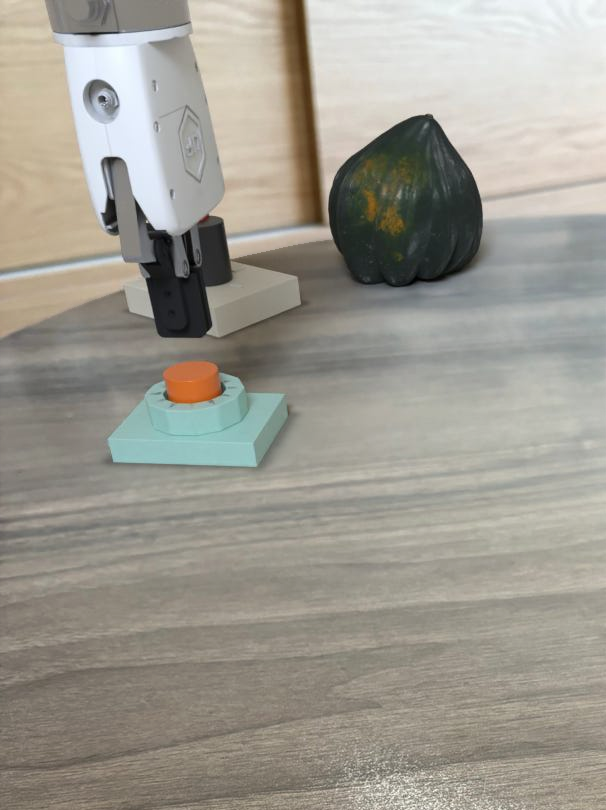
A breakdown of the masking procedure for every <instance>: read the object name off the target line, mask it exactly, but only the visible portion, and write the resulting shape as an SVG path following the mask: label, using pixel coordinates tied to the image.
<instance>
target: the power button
mask: <svg viewBox="0 0 606 810" xmlns="http://www.w3.org/2000/svg"><path fill="white" fill-rule="evenodd" d="M219 373H220V372H219V366H218V365H216V364H215V363H213V362H210V361H206V360H191V361H184V362H183V361H182V362H180V363H176V364H174V365H171V366H169V367H168V368H166V369H165V370H164V371H163V375H162V376H163V381H165V385H166V390H167V394H168V399H169V400H170V401H171V402H174V403H182V404H193V403H199V402H204V401H209V400H212V399H214V398H216V397H218V396H221V394H222V388H221V382H220V377H219Z"/></svg>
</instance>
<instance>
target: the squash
mask: <svg viewBox="0 0 606 810" xmlns="http://www.w3.org/2000/svg"><path fill="white" fill-rule="evenodd" d="M327 200H328V201H327V212H328V213H327V214H328V225H329V229H330V233H331V237H332V240H333V242H334V245H335V247H336V248H337V250H338V252H339V253H340V254H341V255H342V257H343V260H344V262H345V266H346V267H347V269H348V270H349V272H350V273H351V275H353V277H355V278H356V279H357V280H358V281H359V282H361V283H363V284H365V285H379V284H385V283H388V284H390V285H392V286H394V287H402V286H405V285H408V284H409V283H412V281H413V280H414V279H415V278H416V277H417V278H419V279H421V280H430V279H435V278H437V277H439V276H440V275H445V274H449V273H455V272H458V271H460V270H462V269H464V268H465V267H466V266H468V265H469V264H470V263H471V261H472V260H474V258H475V256H476V255H477V253H478V251H479V249H480V245H481V241H482V235H483V230H484V229H483V228H484V211H483V209H484V208H483V202H482V198H481V194H480V191H479V187H478V183H477V180H476V178H475V177H474V174H473V172H472V171H471V168H469V166H468V164H467V163H466V161H465V160H464V159H463V157H462V156H461V154H460V153H459V152H458V150H457V149H456V147H455V146H454V145H453V144H452V142H451V140H450V139H449V137H448V136H447V134H446V132H445V131H444V129H443V127H442V125H441V124H440V123H439V122H438V121H437V120H436V118H434V115H433V114H431V113H425V114H417V115H414V116H413V115H412V116H410V117H408V118H406V119H404V120H402V121H400V122H398V123H396V124H394V125H393V126H391V127H390V128H389V129H387V130H386V131H384V132H382V133H381V134H378V136H376V137H375V138H374V139H373V140H371V141H370V142H369V143H367V144H366V145H365V146H364V147H363V148H361V149H359V150H358V151H356V152H355V153H354V154H352V155H350V157H348V158H347V159H346V160H345V161H344V163H343V164H342V165H341V166H339V168H338V170H337V171H336V173H335V175H334V177H333V180H332V184H331V186H330V190H329V194H328V199H327Z"/></svg>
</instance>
